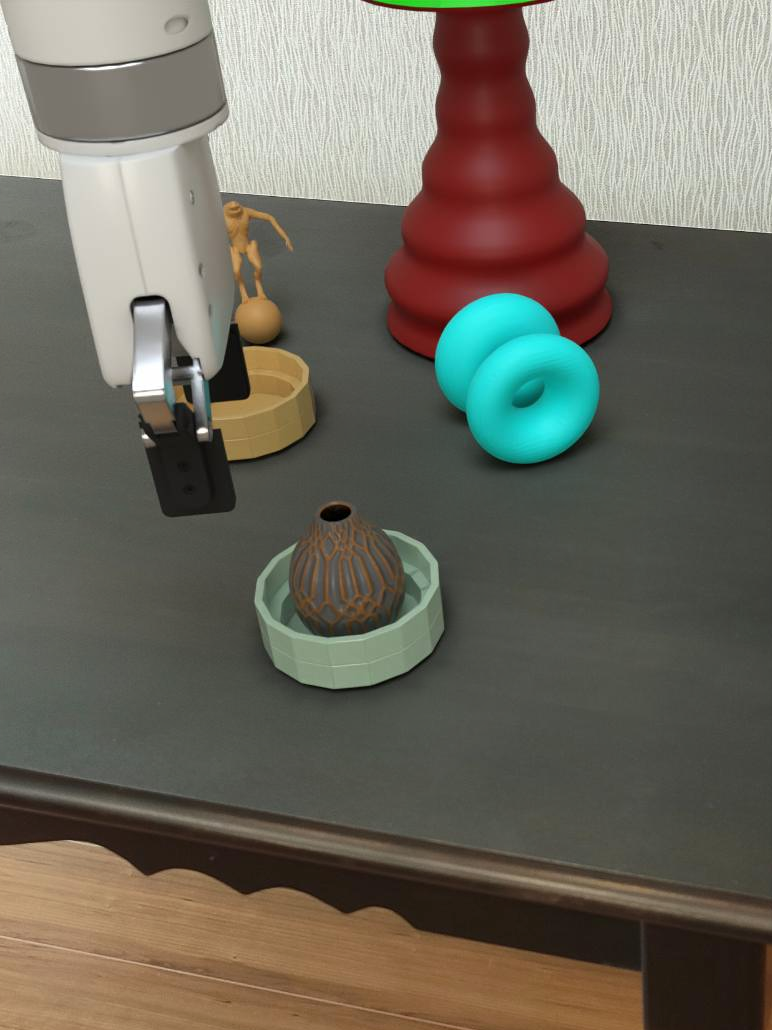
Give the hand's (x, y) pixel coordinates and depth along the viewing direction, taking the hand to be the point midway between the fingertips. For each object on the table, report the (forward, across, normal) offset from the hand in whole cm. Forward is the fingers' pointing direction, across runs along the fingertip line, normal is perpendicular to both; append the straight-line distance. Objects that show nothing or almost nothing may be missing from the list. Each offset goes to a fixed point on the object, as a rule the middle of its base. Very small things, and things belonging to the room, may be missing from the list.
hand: (210, 451), depth 61 cm
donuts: (+20, -30, +17) cm, 39 cm away
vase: (+19, -9, +4) cm, 21 cm away
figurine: (+20, -50, -4) cm, 54 cm away
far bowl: (+19, -35, -4) cm, 40 cm away
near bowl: (+19, -9, +4) cm, 22 cm away
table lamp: (+20, -50, +17) cm, 56 cm away
